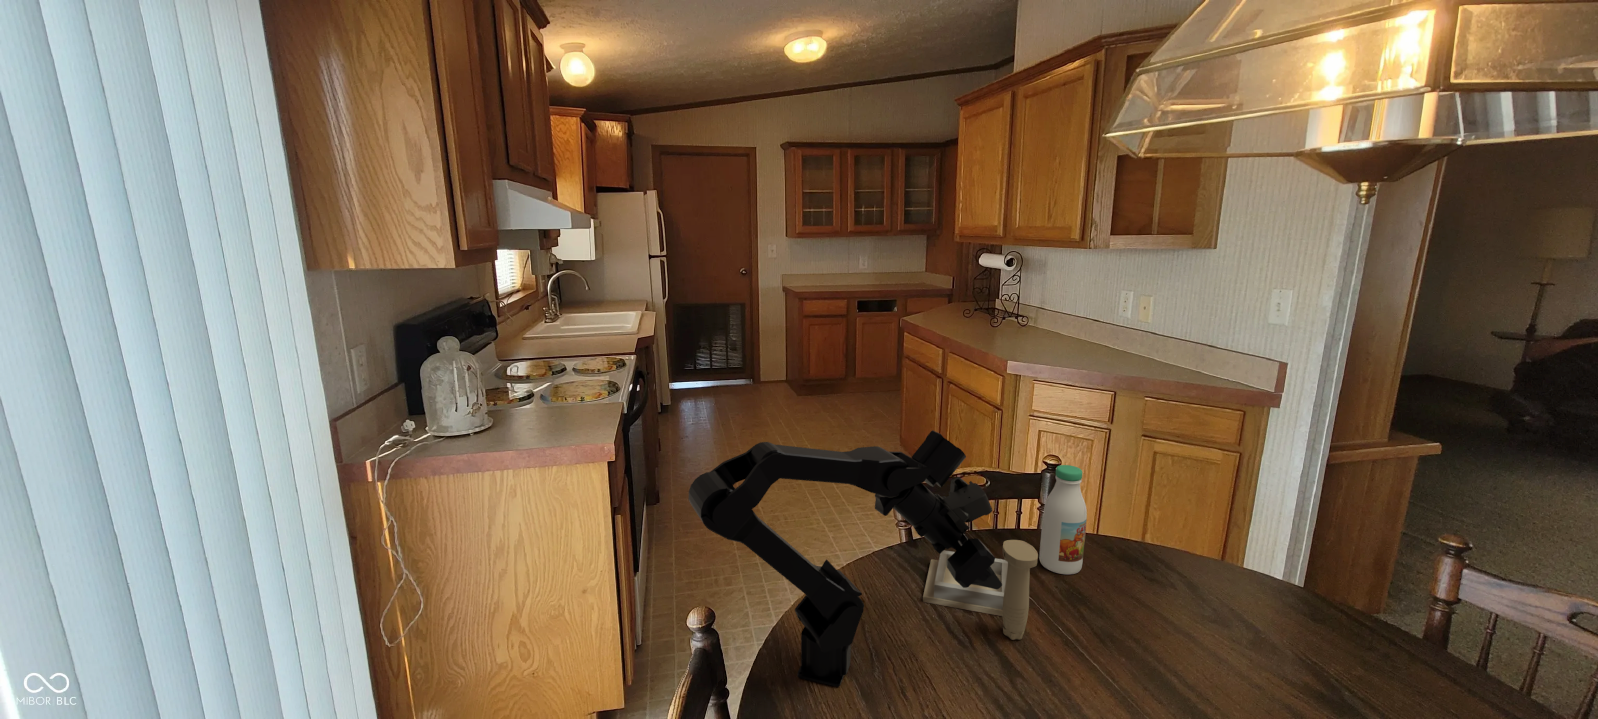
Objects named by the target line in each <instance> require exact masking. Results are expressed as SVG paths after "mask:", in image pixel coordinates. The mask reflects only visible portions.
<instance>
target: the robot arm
mask: <svg viewBox="0 0 1598 719" xmlns="http://www.w3.org/2000/svg"><path fill="white" fill-rule="evenodd" d="M966 458H967V455H966V453H965V452H964V451H963V450H962V449H961V448H960V447H959V446H958V447H957V446H956V445H955V444H954V443H952V442H951V441H950V440H948V439H947V438H945V437H944V436H943V435H942V434H941V433H940V432H937V431H935V430H934V429H933V430H931V431H930V432H929V433H928V434H927V436H926V437H925V440H924V441H923V442H922V443H921V444H920V445H919V447H918V448H917V450H915V452H914V453H913V454H912V455H911V456H909V455H907V454H906V453H904V452H902V451H888V450H886V449H885V448H883V447H881V446H878V445H877V446H875V445H874V446H863V447H862V446H861V447H856V448H855V449H852V450H849V451H848V450H847V451H838V450H826V449H818V448H809V447H803V446H802V447H799V446H791V445H782V444H774V443H772V442H769V441H762V442H761V441H759V442H758V443H756V444H755V445H753V446H752V447H750V448H749V449H748V450H746V451H745V452H743V453H741V454H738V455H737V456H734V457H732V458H729V459H727V460H724V461H723V462H721V463H720V464H719V465H717V466H716V467H715V468H713V469H712V470H710V471H709V472H708V471H707V472H705V473H702V474H699V476H697V477H696V478H695V479H694V480H693V481H692V483H691V484H690V487H689V490H688V501H689V503H690V505H691V507H692V509H693V510H694V511H695V513H696V514H697V516H698V517H699V519H700V521H701V522H702V524H703V525H704V526H705V527H706V529H707V530H708V531H710V532H713V533H714V534H716V535H719V536H720V537H722V538H724V539H726V540H728V541H733V542H736V543H741V544H742V545H744V546H745V547H747V548H748V549H749V550H751V551H752V552H753V553H754V554H755V555H756V556H758V557H759V558H760V559H761V560H762V561H764V562H765V563H767V564H768V565H769V566H770V568H771V567H772V568H773V570H775V571H776V572H778V573H779V574H780V575H781V576H782V577H783V578H785V579H786V580H787V581H788V582H790V583H791V584H792V585H793V586H794V587H796V588H797V589H798V590H799V591H800V592H802V593H804V594H805V596H804V597H803V598H802V599H801V600H800V602H799V603H798V604H797V606H795V608H794V611H795V614H796V617H797V619H798V620H799V621H800V622H801V624H802V625H803V629H802V630H801V633H800V666H799V669H798V671H797V673H796V676H797V678H798V679H802V680H805V681H811V682H816V683H819V684H822V685H823V684H824V685H828V686H833V687H835V688H837V687H840V686H841V685H842V682H843V679H844V676H847V674H848V671H849V668H850V667H851V666H850V665H851V648H852V646H851V645H852V644H853V642H854V638H855V635H856V633H857V630H858V626H859V624H860V621H861V619H862V616H863V614H864V608H865V602H864V601H863V600H862V599H861V596H862V595H863V593H862V592H861V591H860V590H859V589H858V587H857V586H856V585H855V584H854V583H853V582H852V581H851V580H850V579H849V578H848V577H847V576H846V575H845V574H844V573H843V572H842V571H841V570H839V569H837V568H836V567H834V565H833V564H832V563H831V562H830V561H829V560H828V559H825V560H824V561H823V564H822V565H821V566H819V565H815V563H812V562H811V561H810V560H809V559H808V558H807V557H805V556H804V555H803V553H801V552H800V551H798V550H797V549H796V548H795V547H794V546H793V545H791V544H790V543H789V542H788V541H787V540H785V539H784V538H783V537H782V536H781V535H780V534H779V533H777V532H776V531H775V530H774V529H773V528H772V527H771V526H769V525H768V524H767V523H766V522H764V521H763V519H762V518H760V517H759V516H758V515H757V514H756V513H755V511H754V510H753V509H754V508H756V507H757V506H758V505H759V504H760V502H761V501H762V500H763V498H764V497H765V495H766V494H767V492H768V491H769V489H770V488H771V486H772V485H774V483H776V482H777V481H778V480H779V479H783V480H784V479H785V480H793V481H794V480H795V481H808V482H820V483H831V484H843V485H850V486H854V487H857V488H859V489H862V490H864V491H865V492H869V493H871V494H874V497H875V502H874V509H875V510H876V511H877V512H878V513H880V514H882V516H884V517H886V516H888V515H889V514H890V512H891V511H893V510H895V511H896V512H897V513H898V515H899V516H901V517H902V518H903V519H904V520H905V521H907V522H908V523H909V524H910V525H911V526H912V527H913V529H914V530H915V532H916V534H917V535H918V536H919V537H921V538H923V537H924V538H925V539H926V540H927V541H928V542H929V543H931V545H932V547H933V549H934V551H936V553H938V554H939V555H940V553H941V552H942V551H944V550H945V551H946V550H949V549H953V550H955V551H954V552H955V553H954V554H953V555H952V556H950V557H949V558H948V559H947V568H948V570H949V571H950V573H951V574H952V576H953V578H954V579H955V581H957V582H958V583H959V584H960V585H961V586H962V587H963V588H967V587H969V586H970V585H971V584H972V585H979V586H984V587H988V588H993V589H999V588H1000V587H1001V586H1002V583H1001V581H1000V580H999V578H998V577H997V575H996V574H995V573H994V571H993V570H992V568H991V567H990V566H991V565H992V564H993V563H994V561H995V558H996V557H995V555H993V553H992V552H991V550H989V548H988V547H987V546H986V545H985V544H984V543H983V541H981V539H979V537H975V538H974V537H973V538H969V536H967V534H966V532H967V531H968V530H969V529H970V526H969V525H968V523H971V522H973V521H975V520H977V519H979V518H981V517H983V516H988V515H990V514H991V513H992V512H993V507H992V505H991V503H990V501H989V498H988V496H987V494H986V491H984V490H983V488H982V487H981V486H980V485H979V484H978V483H976V482H975V483H974V482H972V480H969V481H968V483H967V481H965V480H964V479H963V478H961V477H960V476H957V477H955V478H952V479H951V477H952V475H954V473H955V472H956V471H957V470H958V468H959V467H960V466H961V464H962V463H963V461H964V460H965V459H966ZM949 479H951V480H950V488H949V489H950V490H949V491H948V492H947V493H948V496H944V495H943V496H941V495H940V494H938V493H933V492H932V491H931V490H930V489H928V487H927V486H926V485H925V484H923V483H926V484H928V485H929V486H930V487H932V488H933V487H935V486H936V485H937V486H938V487H939V488H943V486H945V484H946V483H947V482H948V480H949ZM738 482H742V483H741V484H740V485H738V486H737V487H735V484H737V483H738Z"/></svg>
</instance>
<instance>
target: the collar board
mask: <svg viewBox="0 0 1598 719" xmlns="http://www.w3.org/2000/svg"><path fill="white" fill-rule="evenodd" d="M955 552H956V551H951V550H946V549H945V550H944V551H942V552H941V553H940V554H939V559H932V558H931V560H930V564H929V568H928V573H927V576H926V582H925V586H924V590H923V591H924V592H923V596H922V602H923V603H927V604H933V605H940V606H945V607H951V608H955V609H960V610H961V609H962V610H967V611H972V612H976V613H977V612H978V613H981V614H982V613H983V614H988V615H995V616H999V617H1003V597H1004V590H1005V584H1006V577H1007V569H1008V562H1007V561H1006V560H1005V559H1004V558H1003V559H1002V558H996V557H995V561H994V563H993V564H992V565H991V566H990V567H991V568H992V570H993V571H994V573H995V574H996V575H997V577H998V578H999V580H1000V581H1001V583H1002V586H1001V587H1000V588H999V589H993V588H988V587H984V586H979V585H972V584H971V585H970V586H969V587H967V588H963V587H962V586H961V585H960V584H959V583H958V582H957V581H955V579H954V578H953V576H952V574H951V573H950V571H949V570H948V568H947V559H948V558H949V557H950V556H952V555H953V554H954V553H955Z"/></svg>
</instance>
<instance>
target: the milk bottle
mask: <svg viewBox="0 0 1598 719" xmlns="http://www.w3.org/2000/svg"><path fill="white" fill-rule="evenodd" d="M1082 479H1083V470H1082V469H1081V468H1079V467H1077V466H1074V465H1070V464H1061V465H1058V466H1056V469H1055V480H1056V481H1055V483H1054V486H1053V488H1052V490H1051V491H1050V493H1049V494H1048V496H1047V499H1046V500H1045V503H1044V506H1043V507H1044V508H1043V513H1042V523H1041V533H1040V544H1039V546H1040V547H1039V554H1038V558H1039V562H1040V564H1041V565H1042V566H1043V567H1044V568H1045V569H1046V570H1049V571H1051V572H1053V573H1056V574H1061V575H1074V574H1077V573H1079V572H1080V571H1081V570H1082V567H1083V561H1084V560H1083V559H1084V551H1085V543H1086V542H1085V540H1086V533H1087V532H1086V531H1087V519H1088V515H1087V514H1088V511H1087V504H1086V502H1085V501H1086V500H1085V499H1084V497H1083V494H1082V490H1081V483H1082V482H1083V481H1082Z"/></svg>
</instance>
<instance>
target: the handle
mask: <svg viewBox="0 0 1598 719" xmlns="http://www.w3.org/2000/svg"><path fill="white" fill-rule="evenodd" d="M1002 544H1003V545H1002V556H1003V560H1006V561H1007V562H1008V569H1007V577H1006V584H1005V590H1004V597H1003V616H1002V624H1003V626H1002V633H1003V634H1004V635H1005V636H1006V637H1008V638H1009V639H1010V640H1013V641H1014V640H1022V639H1023V635H1024V634H1025V630H1026V626H1027V621H1028V616H1029V608H1030V572H1031V568H1035V567H1037V565H1038V558H1039V554H1038V551H1037V550H1036V549H1035V547H1034V546H1033V545H1031V544H1030V543H1028V542H1026V541H1025V540H1019V539H1008V540H1004V541H1003V543H1002Z"/></svg>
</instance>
